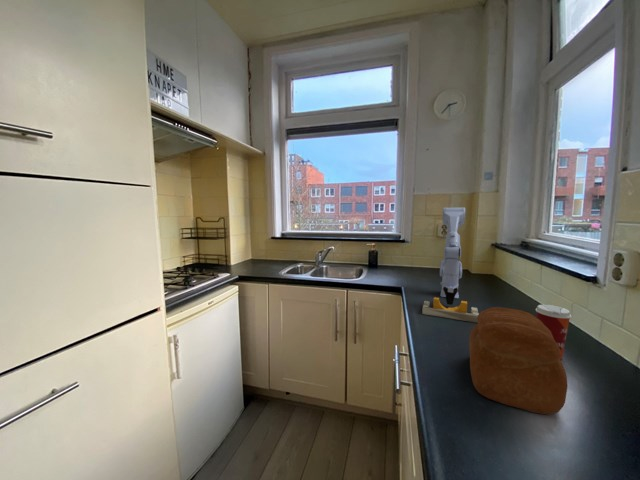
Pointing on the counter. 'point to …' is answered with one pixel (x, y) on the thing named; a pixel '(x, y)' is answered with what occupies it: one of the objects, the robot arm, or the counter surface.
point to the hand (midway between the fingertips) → (449, 304)
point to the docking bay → (451, 313)
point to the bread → (517, 361)
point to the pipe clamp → (459, 309)
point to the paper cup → (555, 323)
